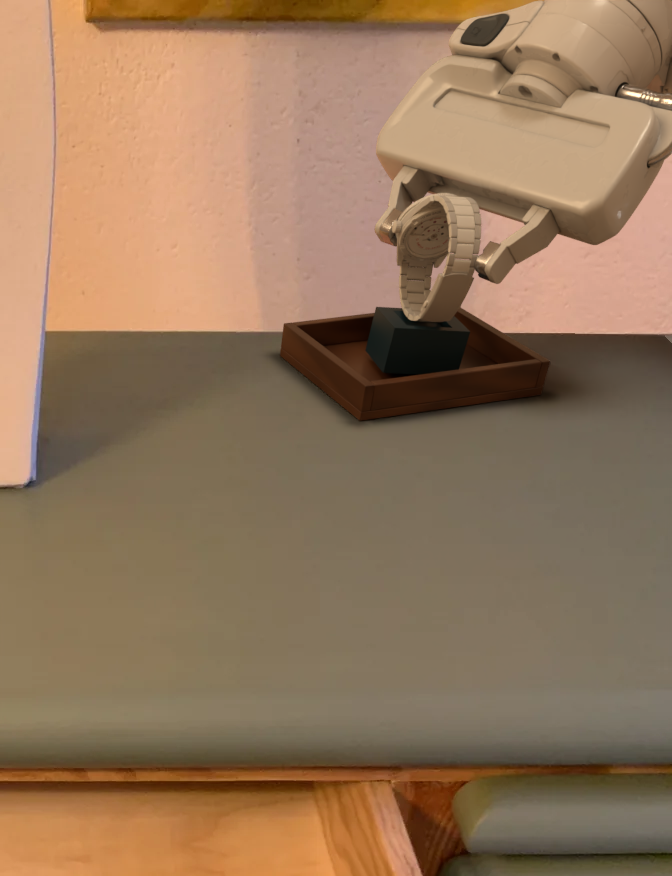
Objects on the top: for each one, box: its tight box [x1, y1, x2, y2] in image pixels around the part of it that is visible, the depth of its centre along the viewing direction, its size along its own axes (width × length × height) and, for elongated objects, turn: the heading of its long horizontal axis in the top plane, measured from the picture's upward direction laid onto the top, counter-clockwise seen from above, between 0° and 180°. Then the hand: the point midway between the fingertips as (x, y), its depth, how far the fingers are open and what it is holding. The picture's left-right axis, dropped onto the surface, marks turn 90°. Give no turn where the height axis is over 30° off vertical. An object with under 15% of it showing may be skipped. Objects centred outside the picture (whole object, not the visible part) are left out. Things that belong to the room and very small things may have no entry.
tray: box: [279, 306, 551, 422], centre depth 83 cm, size 14×12×2 cm
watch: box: [365, 193, 482, 374], centre depth 80 cm, size 6×8×11 cm
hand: (432, 256), depth 78 cm, fingers closed on watch, 8 cm apart
